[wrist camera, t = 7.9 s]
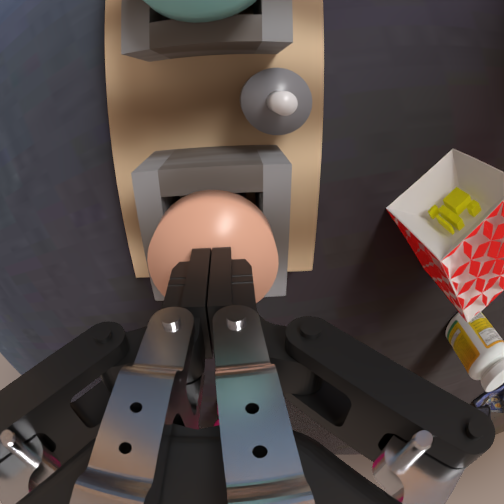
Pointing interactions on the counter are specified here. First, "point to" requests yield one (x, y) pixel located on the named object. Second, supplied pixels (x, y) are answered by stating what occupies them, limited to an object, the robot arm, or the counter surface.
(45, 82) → the counter surface
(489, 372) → the supplement bottle
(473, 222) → the red patterned cube box
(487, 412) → the snack package
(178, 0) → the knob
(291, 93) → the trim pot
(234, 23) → the mount
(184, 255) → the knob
